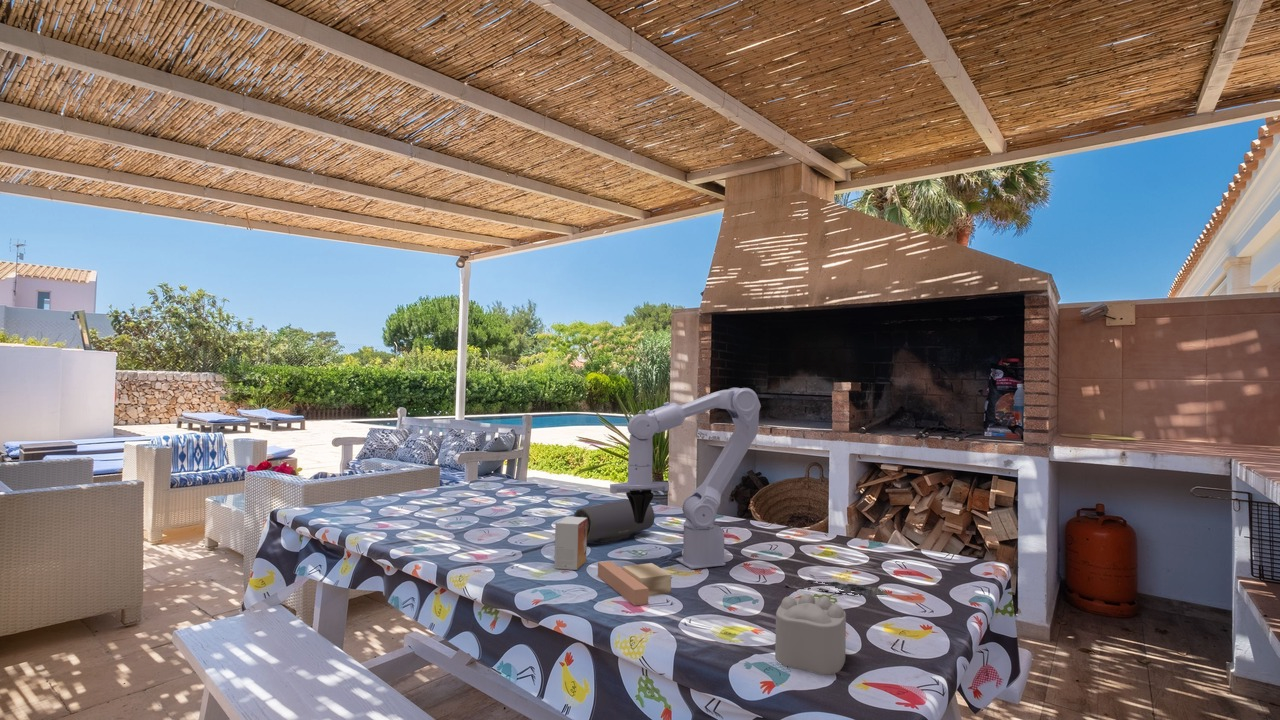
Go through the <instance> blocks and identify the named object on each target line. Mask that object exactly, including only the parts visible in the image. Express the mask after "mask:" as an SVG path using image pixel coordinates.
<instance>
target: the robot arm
mask: <svg viewBox="0 0 1280 720" xmlns="http://www.w3.org/2000/svg"><path fill="white" fill-rule="evenodd" d="M761 408H762V406H761V403H760V400H759V397H758V395H757V393H756V392H755V391H754V390H753V389H751V388H749V387H742V388H740V387H730V388H728V389H722V390H718V391H715V392H711V393H709V394H706V395H703V396H701V397H699V398H696V399H694V400H691V401H689V402H686V403H684V404H681V405H680V404H678V403H676V402H671V403H670V401H666V402H664V403H663V405H662V406H659V407H657V408H654V409H651V410H650V409H646V410H644V414H643V413H637V414H634V415H633V416H631V418H630V419H629V421H628V424H627V430H628V432H629V434H630V435H629V441H628V442H629V444H628V461H627V463H628V466H627V471H628V473H627V481H626V482H620V483H619V482H618V483H610V484H609V493H610V494H612V495H616V494H620V493H622V494H623V493H625V495H626V497H627V499H628V501H629V502H630V504H631V507H632V510H633V514H634V520H635V522H636V523H638V524H639V523H643V522H644V517H645V514H646V511H647V508H648V506H649V504H651V501H652V500H653V498H654V493H653V492H659V491H660V492H661V491H662V492H669V490H670V482H667V481H653V456H654V455H653V453H654V451H653V450H654V445H653V436H655V434H660V433H662V432H663V433H664V432H666V431H668V430H671V429H674V428H677V427H679V426H681V425H683V423H684V421H685V420H686V418H689V417H691V416H695V415H698V414H701V413H705V412H708V411H710V410H713V409H721V410H726V411H727V412H728V413H729V415H730V417H731V419H732V422H733V425H734V430H733V432H732V433H731V435H730V437H729V438H728V440H727V442H726V443H725V446H723V448H722V450H721V452H720V453H719V455H718V457H717V459H716V460H715V462H714V463H713V466H712V467H711V469H710V470H709V472H708V474H707V475H706V477H705V479H704V480H703V482H702V484H700V485H699V486H698V487H696V488H695V490H694V492H692V494H691V495H689V496H688V497H686V498H685V499H684V501H683V503H682V513H683V516H685V517H686V519H685V521H684V522H683V540H682V541H683V543H682V544H683V546H682V547H683V548H682V557H677V558H676V559H675V561H677V562H679V563H680V564H682V565H683V566H685V567H687V568H688V569H691V570H694V569H695V570H696V569H703V568H712V567H714V568H715V567H723V566H726V562H725V534H724V530H723V528H722V527H721V526H720V525H717V524H714V523H715V522H716V519H717V512H718V509H719V508H720V505H721V499H722V498H721V497H722V494H723V493H724V491H725V489H726V488H727V485H728V484H729V482H730V480H731V479H732V477H733V475H734V474H735V472H736V471H737V469H738V467H739V466H740V465H741V462H742V460H743V458H744V457H745V455H746V454H747V452H748V450H749V448H750V447H751V445H752V443H753V441H754V440H755V438H756V436H757V435H758V433H759V425H760V424H759V422H760V421H759V418H760V410H761Z"/></svg>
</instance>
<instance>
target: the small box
mask: <svg viewBox="0 0 1280 720" xmlns="http://www.w3.org/2000/svg"><path fill="white" fill-rule="evenodd" d="M587 521H588V518H584V517H574V516H565V517H563V518H562V519H561V520H559V521H557V522H556V523H555V529H554V530H555V531H554V537H555V538H554V566H553V569H555V570H557V569H559V570H570V571H578V570H579V569H580V568H581V567H582V565H584V564H585V563H586V562H587V551H588V550H587V549H588V546H587V545H588V540H587Z"/></svg>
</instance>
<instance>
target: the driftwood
mask: <svg viewBox="0 0 1280 720" xmlns="http://www.w3.org/2000/svg"><path fill="white" fill-rule="evenodd" d="M806 581H807V582H811V583H813V582H816V580H814V579H807V580H806ZM817 582H818V583H822V582H823V583H825V584H828V585H831V586H835V588H838V589H841V590H844V591H839V592H840V593H852V594H854V595H858V594H859V595H865V596H864V597H866V596H868V595H874V594H875V595H887V596H888V592H886V591H884V590H882V589H881V588H879V587H877V586H876V587H873V586H868V585H867V586H866V585H863V584H862V585H861V584H857V583H847V584H846V583H842V582H839V581H820V580H819V581H817ZM785 586H787V587H789V588H791V589H796V588H795V587H796V586H795V585H790V584H789V583H788V582H786V583H785ZM793 587H794V588H793ZM805 587H806V588H808V589H811V587H807V586H805ZM805 587H803V586H798V588H799V589H801V590H805V589H806V588H805ZM804 588H805V589H804ZM817 589H819V590H824V591H823V592H825V591H829V589H826V588H821V587H819V588H817ZM880 589H881V590H882V591H881V590H880ZM851 591H855V592H851Z"/></svg>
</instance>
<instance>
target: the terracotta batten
mask: <svg viewBox="0 0 1280 720" xmlns="http://www.w3.org/2000/svg"><path fill="white" fill-rule="evenodd" d="M597 577H599V578H600V580H602V581H603V582H605V583H606V585H608V586H609V587H610V588H612V589H613V590H614V591H616V592H617V593H618V594H619V595H620V596H621V597H622V598H624V599H625V600H626V601H628V602H629V603H630V604H631V605H632V606H634V607H635V606H642V605H648V604H649V596H648V591H649V588H647V587H646V586H645V585H643V584H642V583H640V582H639V581H638V580H636V579H635V578H634V577H632V576H631V575H629V574H628V573H627V572H625V571H624V570H622V568H621V567H620V566H618V565H617V564H616V563H614V562H612V560H609V561H607V560H606V561H599V562H597Z"/></svg>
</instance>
